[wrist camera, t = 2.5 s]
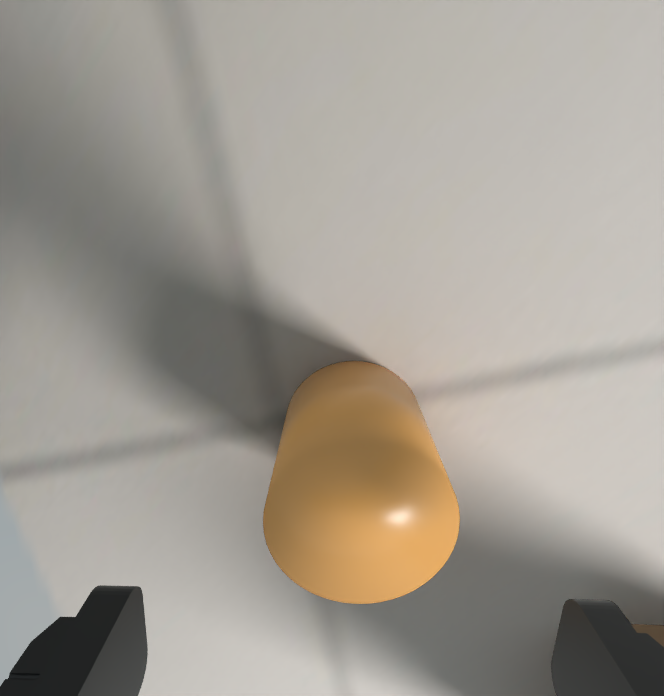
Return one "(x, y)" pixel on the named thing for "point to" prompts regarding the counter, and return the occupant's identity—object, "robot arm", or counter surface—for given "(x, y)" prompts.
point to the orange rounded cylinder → (358, 489)
